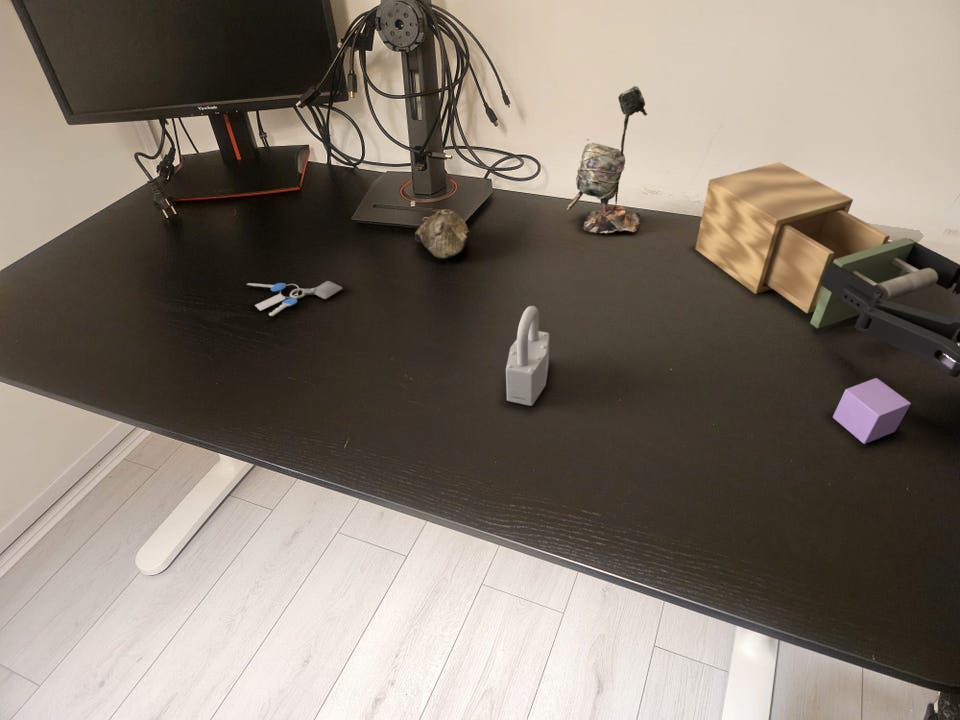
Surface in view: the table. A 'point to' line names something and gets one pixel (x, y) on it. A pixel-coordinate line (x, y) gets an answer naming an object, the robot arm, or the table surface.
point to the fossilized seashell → (443, 234)
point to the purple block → (871, 410)
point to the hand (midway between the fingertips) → (865, 261)
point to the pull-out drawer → (839, 263)
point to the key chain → (321, 291)
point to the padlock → (527, 360)
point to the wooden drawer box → (758, 217)
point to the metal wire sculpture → (608, 175)
